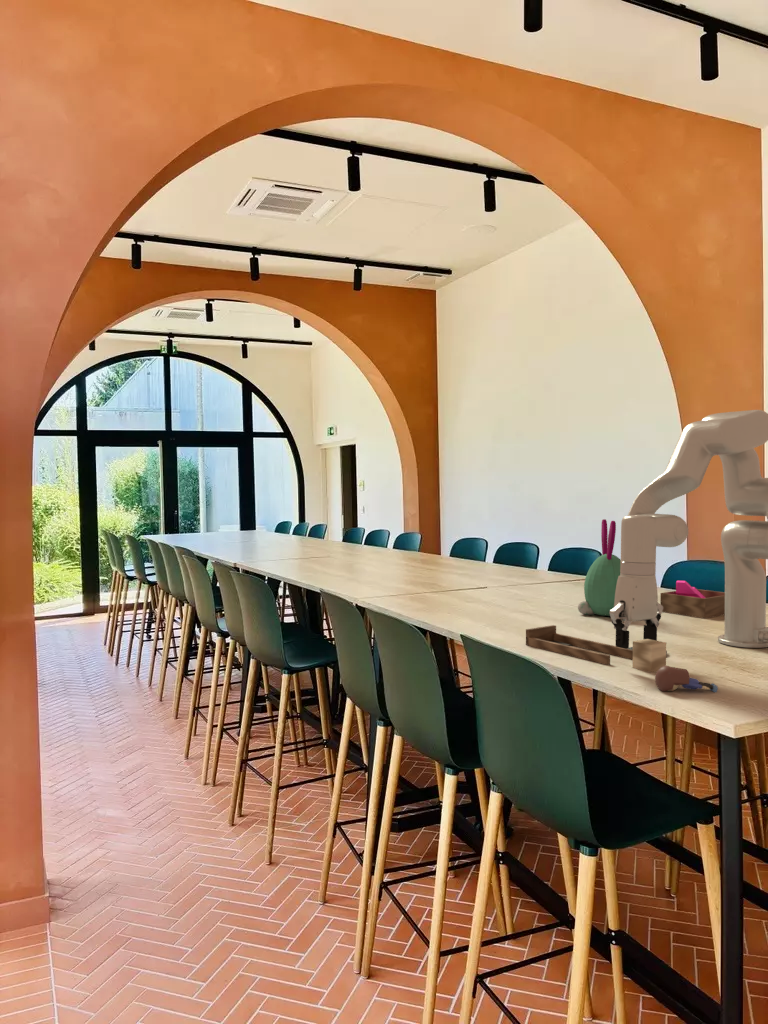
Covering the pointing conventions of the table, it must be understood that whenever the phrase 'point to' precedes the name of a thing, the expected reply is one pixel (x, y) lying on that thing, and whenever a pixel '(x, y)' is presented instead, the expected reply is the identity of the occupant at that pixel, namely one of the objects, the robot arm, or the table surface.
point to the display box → (694, 604)
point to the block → (649, 655)
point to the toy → (602, 577)
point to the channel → (563, 643)
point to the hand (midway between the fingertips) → (636, 645)
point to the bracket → (687, 590)
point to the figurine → (679, 680)
